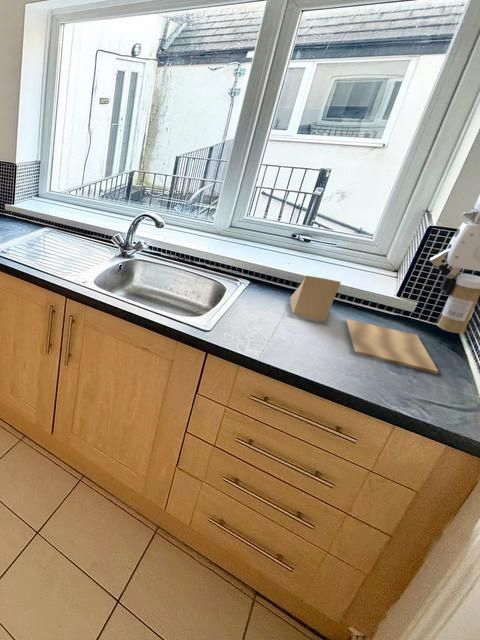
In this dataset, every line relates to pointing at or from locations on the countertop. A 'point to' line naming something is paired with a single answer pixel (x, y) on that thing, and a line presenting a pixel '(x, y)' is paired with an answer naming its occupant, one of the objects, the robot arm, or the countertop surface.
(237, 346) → the countertop surface
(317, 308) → the sandwich container
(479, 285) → the sprinkles bottle
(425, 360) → the chopping board
